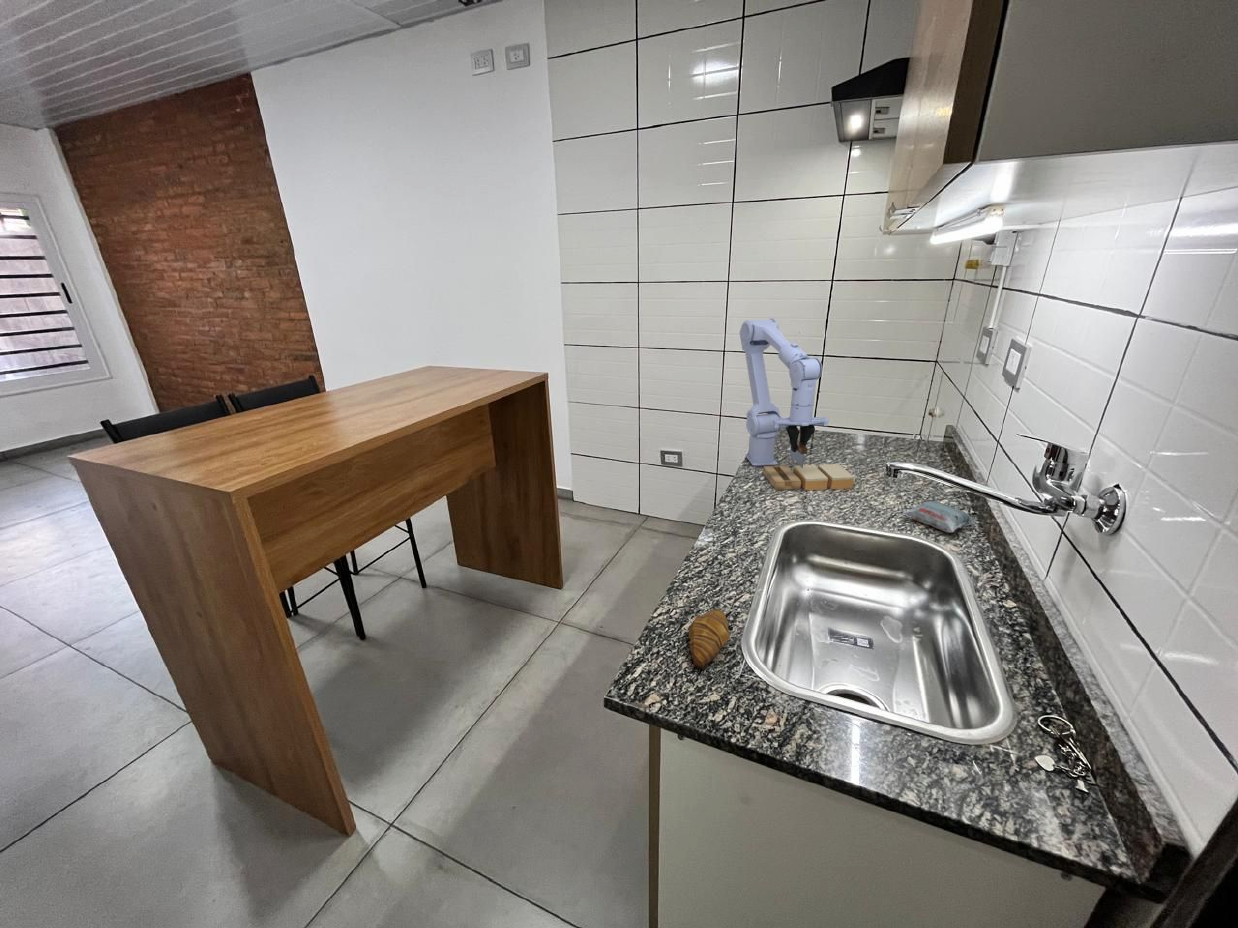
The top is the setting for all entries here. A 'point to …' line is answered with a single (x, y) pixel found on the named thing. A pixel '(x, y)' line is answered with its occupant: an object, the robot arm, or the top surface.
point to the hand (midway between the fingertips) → (797, 450)
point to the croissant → (708, 636)
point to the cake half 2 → (837, 476)
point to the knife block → (786, 473)
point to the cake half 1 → (811, 477)
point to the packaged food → (940, 516)
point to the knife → (799, 453)
